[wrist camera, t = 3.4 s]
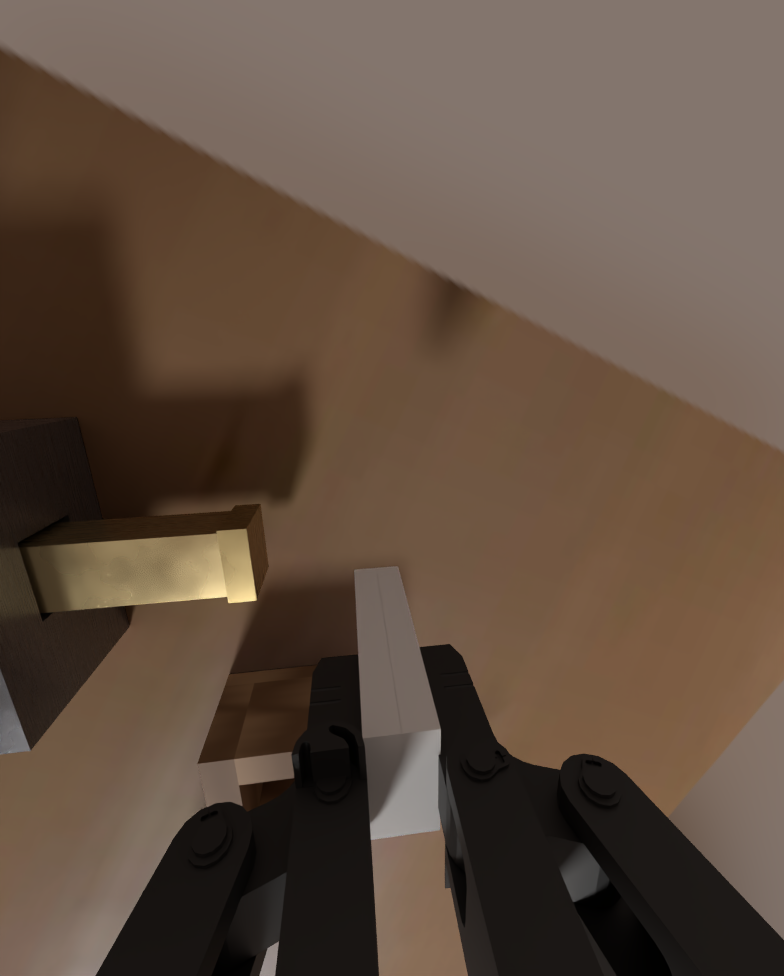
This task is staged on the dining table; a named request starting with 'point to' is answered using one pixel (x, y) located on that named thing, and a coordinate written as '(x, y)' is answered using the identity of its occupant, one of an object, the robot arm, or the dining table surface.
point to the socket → (7, 590)
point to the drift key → (147, 560)
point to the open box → (255, 736)
